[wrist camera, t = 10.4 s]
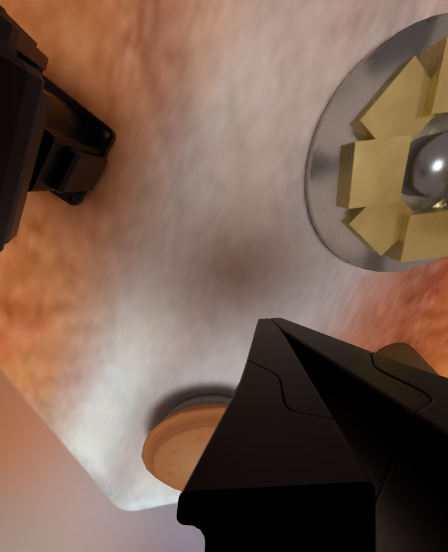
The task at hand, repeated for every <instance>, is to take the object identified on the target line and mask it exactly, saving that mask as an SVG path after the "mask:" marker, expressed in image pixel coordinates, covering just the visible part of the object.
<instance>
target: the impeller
mask: <svg viewBox="0 0 448 552" xmlns="http://www.w3.org/2000/svg"><path fill="white" fill-rule="evenodd" d="M446 36H448V13H445V14H440V15H435V16H432V17H430V18H427V19H424V20H422V21H419V22H416V23H414V24H413V25H411V26H409V27H407V28H405V29H404V30H402V31H400V32H398V33H397V34H395V35H394V36H393V37H391V38H390V39H389V40H387V41H386V42H384V43H383V44H382V45H380V46H379V47H378V48H377V49H375V50H374V51H373V52H371V53H370V54H369V55H368V56H367V57H366V58H365V59H364V60H363V61H362V62H360V63H359V64H358V65H357V66H356V67H355V68H354V69H353V71H352V72H351V73H350V74H349V75H348V76H347V78H346V79H345V80H344V81H343V82H342V84H341V85H340V86H339V88H338V89H337V91H336V92H335V94H334V95H333V97H332V98H331V100H330V101H329V103H328V105H327V107H326V109H325V111H324V112H323V114H322V116H321V118H320V121H319V123H318V125H317V128H316V130H315V133H314V136H313V139H312V142H311V145H310V149H309V153H308V159H307V164H306V173H305V197H306V203H307V208H308V212H309V215H310V219H311V222H312V224H313V226H314V228H315V230H316V232H317V234H318V236H319V237H320V238H321V240H322V241H323V243H324V244H325V245H326V246H327V247H328V248H329V249H330V250H331V251H332V252H333V253H335V254H336V255H337V256H339V257H340V258H342V259H344V260H345V261H347V262H349V263H351V264H353V265H355V266H357V267H360V268H363V269H366V270H372V271H378V272H395V271H403V270H408V269H413V268H416V267H419V266H422V265H425V264H428V263H430V262H432V261H435V260H437V259H439V258H441V257H438V258H430V259H423V260H415V261H407V262H398V261H396V260H393V259H391V258H389V257H386V256H385V253H384V254H383V255H382V256H380V255H378V254H375V253H373V252H371V251H370V250H369V249H368V248H367V247H366V246H365V245H364V244H363V243H362V242H361V241H360V240H359V239H358V238H357V237H356V236H355V235H354V234H353V233H352V232H351V231H350V230H349V229H348V228H347V227H346V226H345V225H344V224H343V223H342V222H341V221H342V220H343V219H344V218H345V217H346V216H347V214H348V213H349V212H350V211H351V210H352V209H353V208H351V209H347V208H342V207H337V206H336V198H337V185H338V173H339V161H340V148H341V145H345V144H348V143H352V142H356V141H363V140H362V138H361V137H360V136H359V135H358V134H357V132H356V131H355V130H354V129H353V127H352V126H351V125H350V123H351V122H352V121H353V120H354V119H355V117H356V116H357V115H358V114H359V113H360V111H361V110H362V109H363V108H364V107H365V105H366V104H367V103H368V102H369V101H370V100H371V98H372V97H373V96H374V95H375V94H376V92H377V91H378V90H379V89H380V88H381V86H382V85H383V84H384V83H385V82H386V81H387V79H388V78H389V77H390V76H391V75H392V73H393V72H394V71H395V70H396V69H397V67H398V66H399V65H400V64H402V63H403V62H405V61H407V60H408V59H410V58H412V57H413V56H416V57H417V59H418V60H419V59H420V53H421V51H423V50H425V49H426V48H428V47H430V46H431V45H433V44H435V43H436V42H438V41H439V40H441V39H443V38H444V37H446ZM447 196H448V116H445V117H437V118H432V119H431V120H430V121H429V122H428V123H427V124H426V125H425V126H424V128H423V129H422V130H421V131H420V132H419V133H418V134H417V135H416V136H415V137H414V138H413V139H412V140H411V142H410V148H409V153H408V158H407V164H406V169H405V174H404V180H403V185H402V191H401V196H400V197H401V198H402V199H403V200H404V201H405V203H406V204H407V205H408V206H409V207H410V208H411V210H414V209H422V208H430V207H434V206H435V205H436V204H437V203H438V202H439V201H440V200H441V199H442V198H444V197H447Z"/></svg>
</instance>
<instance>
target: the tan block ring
mask: <svg viewBox="0 0 448 552" xmlns="http://www.w3.org/2000/svg"><path fill="white" fill-rule="evenodd" d="M445 116H448V36H446V37H444V38H443V39H441V40H439V41H438V42H436V43H435V44H433V45H431V46H430V47H428V48H426V49H425V50H423V51H421V53H420V59H419V60H418V59H417V57H416V56H413V57H412V58H410V59H408V60H407V61H405V62H403V63H402V64H400V65H399V66H398V67H397V69H396V70H395V71H394V72H393V73H392V75H391V76H390V77H389V78H388V79H387V81H386V82H385V83H384V84H383V85H382V86H381V88H380V89H379V90H378V91H377V92H376V94H375V95H374V96H373V97H372V98H371V100H370V101H369V102H368V103H367V104H366V105H365V107H364V108H363V109H362V110H361V111H360V113H359V114H358V115H357V116H356V117H355V119H354V120H353V121H352V122H351V123H350V125H351V126H352V127H353V129H354V130H355V131H356V132H357V134H358V135H359V136H360V137H361V138H362V140H363V141H356V142H352V143H348V144H345V145H341V148H340V161H339V173H338V185H337V198H336V206H337V207H342V208H347V209H351V208H353V209H352V210H351V211H350V212H349V213H348V214H347V216H346V217H345V218H344V219H343V220H342V221H341V222H342V223H343V224H344V225H345V226H346V227H347V228H348V229H349V230H350V231H351V232H352V233H353V234H354V235H355V236H356V237H357V238H358V239H359V240H360V241H361V242H362V243H363V244H364V245H365V246H366V247H367V248H368V249H369V250H370V251H371V252H373V253H375V254H378V255H380V256H382V255H383V254H384V253H385V256H386V257H389V258H391V259H393V260H396V261H398V262H407V261H415V260H423V259H430V258H438V257H446V256H448V196H447V197H444V198H442V199H441V200H440V201H439V202H438V203H437V204H436V205H435V206H434V207H430V208H422V209H414V210H411V208H410V207H409V206H408V205H407V204H406V203H405V201H404V200H403V199H402V198H401V197H400V196H401V191H402V185H403V180H404V174H405V169H406V164H407V158H408V153H409V148H410V142H411V140H412V139H413V138H414V137H415V136H416V135H417V134H418V133H419V132H420V131H421V130H422V129H423V128H424V126H425V125H426V124H427V123H428V122H429V121H430V120H431V119H432V118H437V117H445Z"/></svg>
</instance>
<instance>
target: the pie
mask: <svg viewBox="0 0 448 552" xmlns="http://www.w3.org/2000/svg"><path fill="white" fill-rule="evenodd" d="M230 400H231V398H230V397H227V396H222V395H201V396H196V397H192V398H189V399H187V400H185V401H183V402H181V403H179V404H178V405H177V406H176V407H175V408H173V409H172V410H171V411H170V412H169V413H168V414H167V416H166V417H165V418H164V419H163V420H162V421H161V422H160V423H159V424H158V425H157V426H155V427H154V428H153V429H152V430H151V431H150V432H149V434H148V436H147V439H146V441H145V443H144V446H143V451H142V459H143V462H144V464H145V467H146V469H147V470H148V471H149V472H150V473H151V474H152V475H153V476H154V477H155V478H157V479H158V480H160V481H162V482H163V483H165V484H166V485H168V486H170V487H172V488H174V489H177V490H180V491H182V490H183V488H184V486H185V485H186V483H187V481H188V479H189V477H190V475H191V473H192V471H193V470H194V468H195V466H196V464H197V462H198V460H199V458H200V456H201V455H202V453H203V451H204V449H205V447H206V445H207V443H208V441H209V440H210V438H211V436H212V434H213V432H214V430H215V428H216V426H217V425H218V423H219V421H220V419H221V417H222V415H223V413H224V411H225V410H226V408H227V406H228V404H229V402H230Z"/></svg>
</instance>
